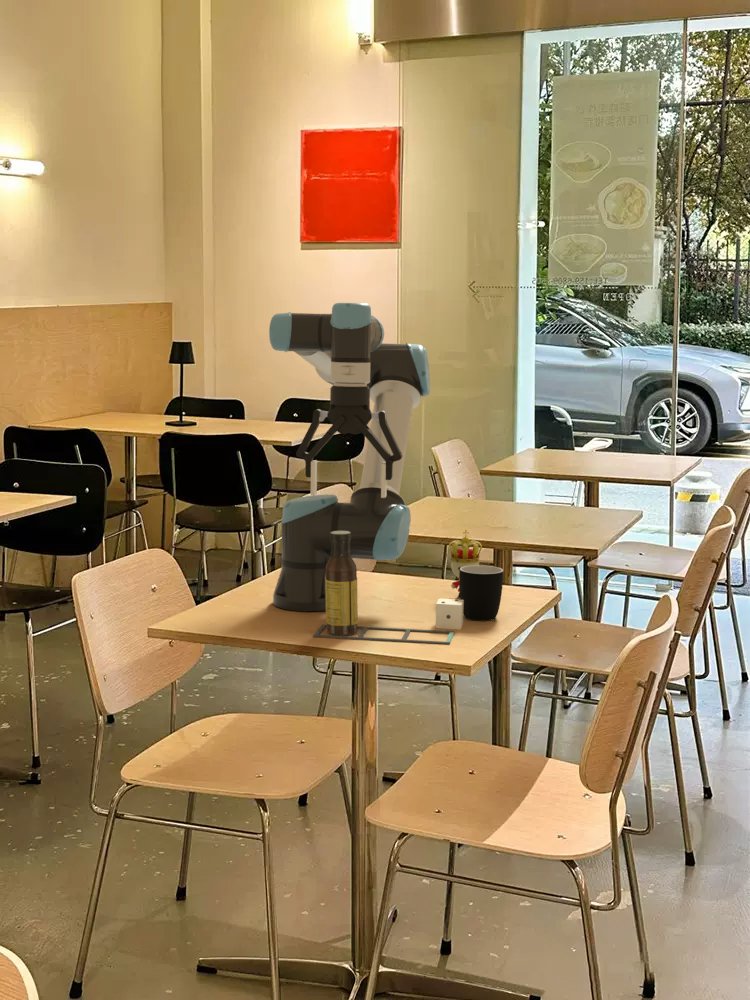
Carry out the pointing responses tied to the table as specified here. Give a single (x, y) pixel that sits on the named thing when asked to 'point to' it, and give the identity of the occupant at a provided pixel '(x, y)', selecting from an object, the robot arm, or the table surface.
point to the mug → (480, 591)
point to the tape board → (404, 638)
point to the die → (449, 613)
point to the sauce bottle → (341, 587)
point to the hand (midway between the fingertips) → (348, 495)
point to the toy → (463, 556)
